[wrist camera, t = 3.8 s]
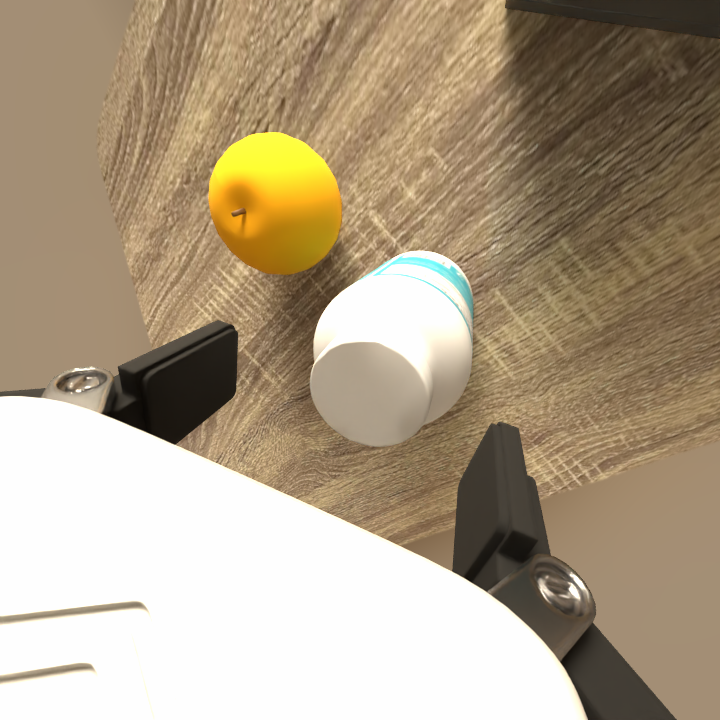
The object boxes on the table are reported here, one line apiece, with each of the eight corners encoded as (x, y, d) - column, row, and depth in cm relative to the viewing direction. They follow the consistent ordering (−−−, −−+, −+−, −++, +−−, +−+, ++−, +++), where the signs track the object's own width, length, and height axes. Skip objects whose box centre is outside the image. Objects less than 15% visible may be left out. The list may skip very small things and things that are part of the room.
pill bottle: (390, 359, 26) (320, 481, 15) (356, 270, 24) (243, 332, 13) (487, 336, 23) (494, 468, 12) (458, 231, 21) (431, 267, 10)
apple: (374, 237, 23) (333, 251, 17) (288, 281, 26) (227, 307, 20) (322, 116, 21) (251, 77, 14) (237, 180, 24) (149, 173, 18)
